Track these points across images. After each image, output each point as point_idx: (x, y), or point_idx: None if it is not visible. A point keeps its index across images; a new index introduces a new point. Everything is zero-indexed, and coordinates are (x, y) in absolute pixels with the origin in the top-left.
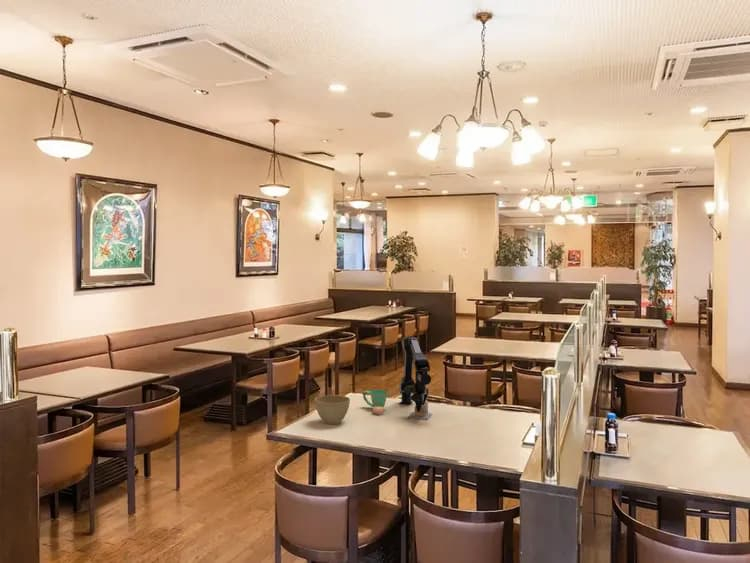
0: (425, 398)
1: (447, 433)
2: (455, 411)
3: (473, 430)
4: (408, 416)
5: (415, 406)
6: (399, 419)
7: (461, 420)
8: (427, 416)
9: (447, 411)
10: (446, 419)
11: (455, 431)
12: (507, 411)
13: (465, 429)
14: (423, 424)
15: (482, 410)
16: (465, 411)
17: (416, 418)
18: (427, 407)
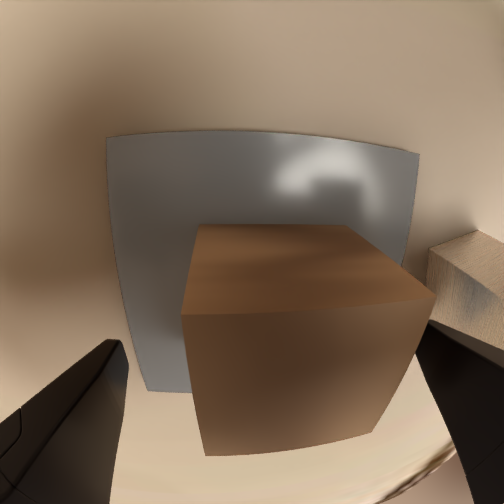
0: (474, 468)
1: None
2: (421, 425)
3: (112, 496)
4: (138, 137)
5: (232, 329)
6: (38, 65)
7: (242, 488)
8: None
9: (430, 402)
10: (234, 458)
11: None
12: (389, 490)
13: None
14: (15, 353)
15: (413, 463)
16: (412, 446)
17: (121, 270)
18: None
